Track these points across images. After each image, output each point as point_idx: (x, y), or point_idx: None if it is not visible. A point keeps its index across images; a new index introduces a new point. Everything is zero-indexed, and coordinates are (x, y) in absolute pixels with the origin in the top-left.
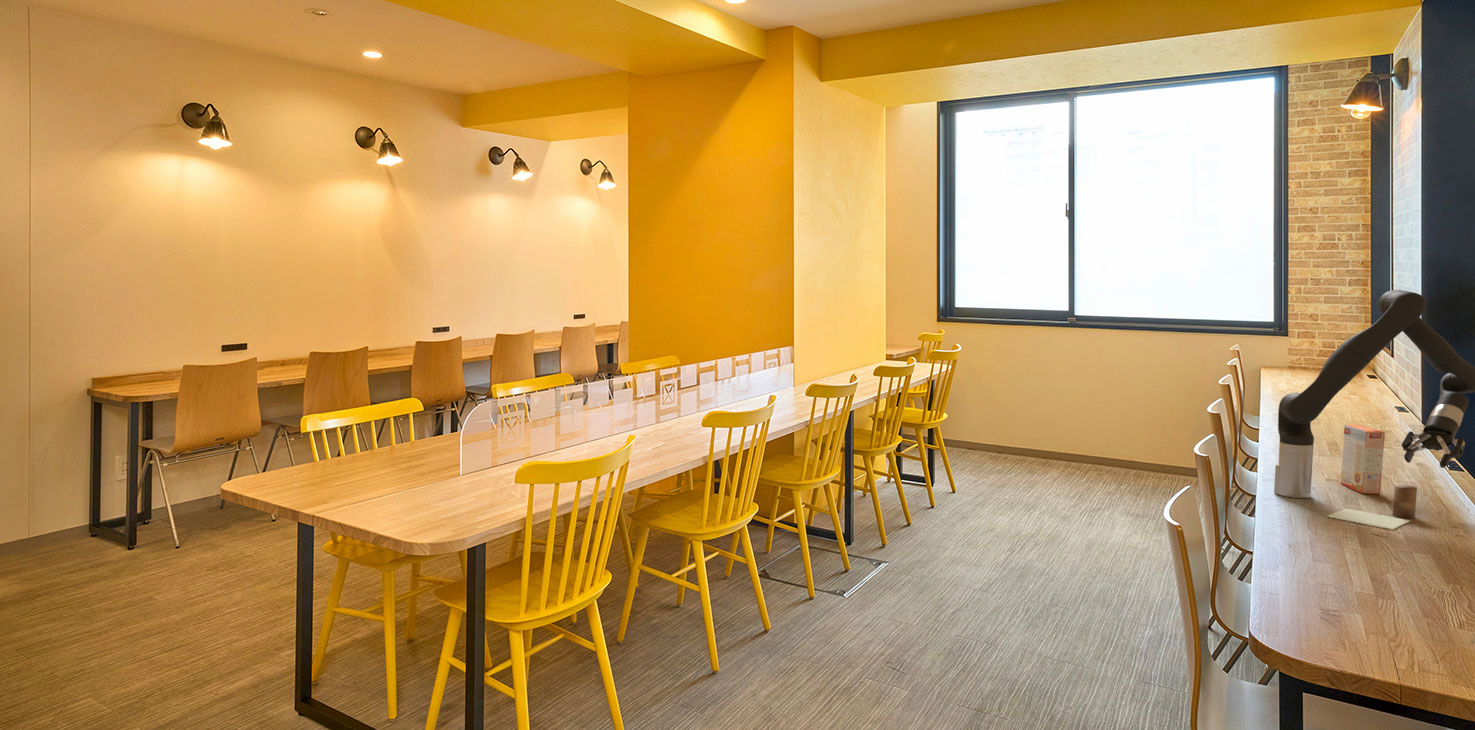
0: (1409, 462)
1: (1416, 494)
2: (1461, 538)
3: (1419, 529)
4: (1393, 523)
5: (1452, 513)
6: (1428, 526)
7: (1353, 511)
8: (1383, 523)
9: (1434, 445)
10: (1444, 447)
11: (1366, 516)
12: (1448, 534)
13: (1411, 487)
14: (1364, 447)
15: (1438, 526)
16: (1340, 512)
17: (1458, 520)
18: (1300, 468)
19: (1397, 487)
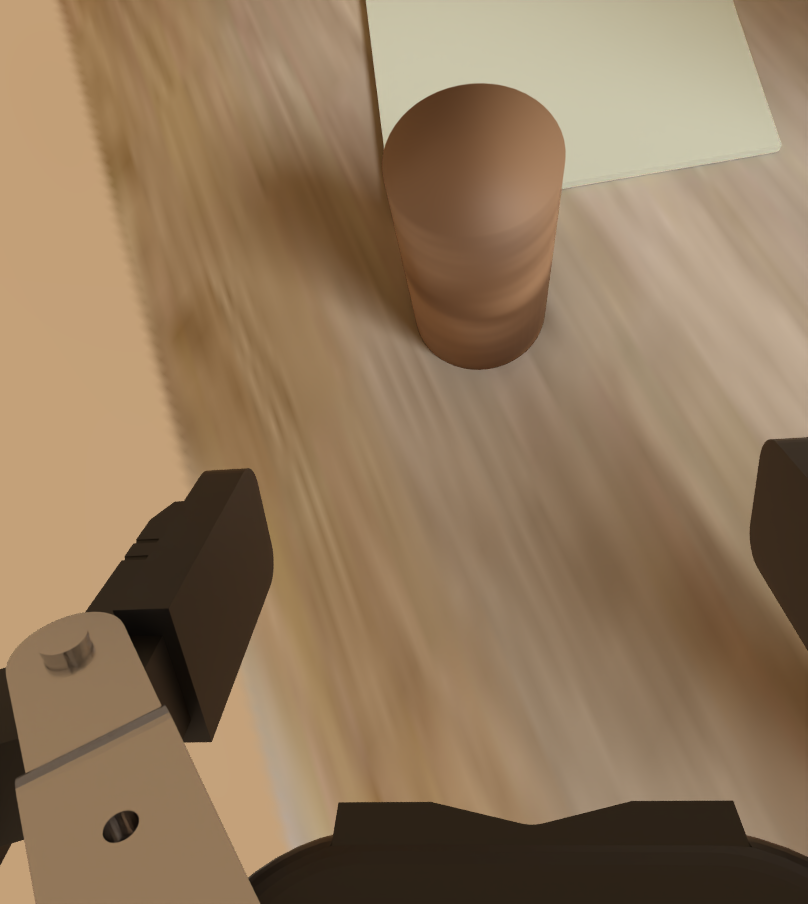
0: (751, 533)
1: (393, 221)
2: (95, 122)
3: (289, 106)
4: (412, 65)
5: (328, 743)
6: (285, 208)
7: (703, 119)
8: (443, 21)
9: (427, 835)
10: (107, 736)
11: (583, 77)
12: (159, 140)
13: (428, 172)
14: None
15: (250, 257)
16: (724, 31)
17: None
18: None
19: (507, 90)
